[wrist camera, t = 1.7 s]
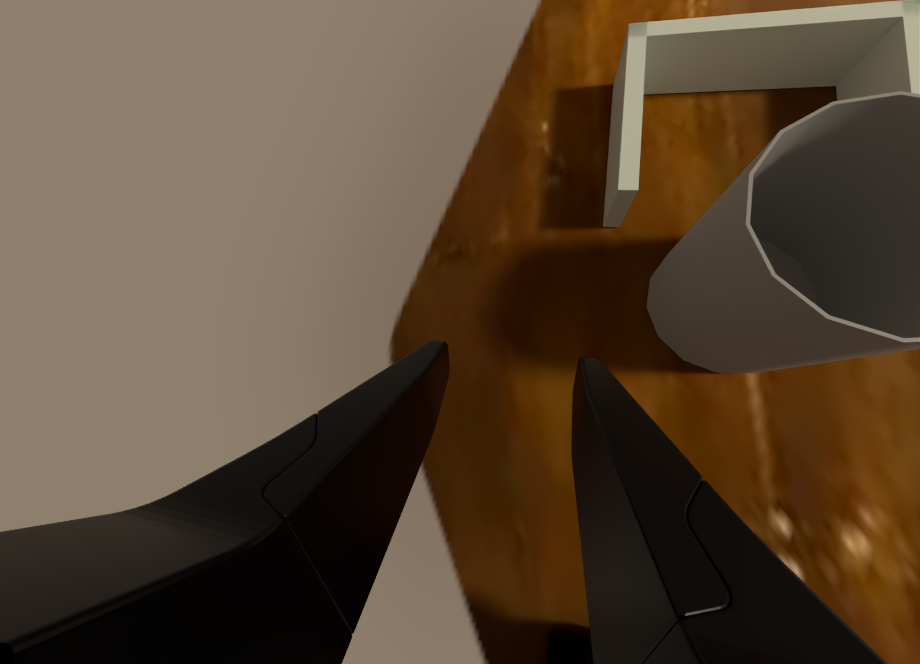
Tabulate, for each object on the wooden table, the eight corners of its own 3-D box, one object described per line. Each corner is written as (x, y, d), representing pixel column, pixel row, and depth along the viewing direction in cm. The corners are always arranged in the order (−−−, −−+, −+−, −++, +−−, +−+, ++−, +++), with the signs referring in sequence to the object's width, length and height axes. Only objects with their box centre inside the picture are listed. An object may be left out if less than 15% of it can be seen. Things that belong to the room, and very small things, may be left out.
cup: (655, 229, 22) (755, 90, 12) (811, 242, 20) (1072, 91, 10) (640, 360, 20) (738, 320, 11) (805, 388, 19) (1102, 369, 9)
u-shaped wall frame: (867, 235, 19) (950, 193, 16) (602, 226, 22) (618, 189, 19) (854, 71, 21) (925, -2, 18) (613, 83, 24) (628, 23, 21)
